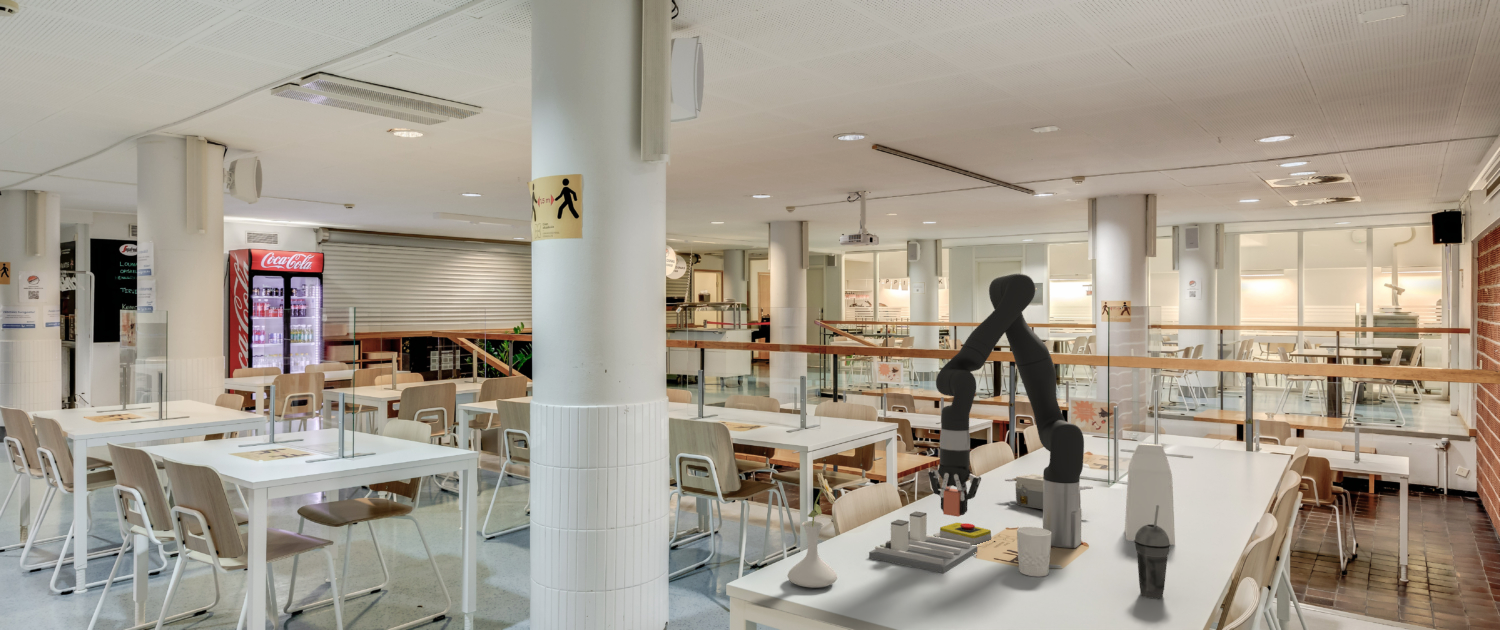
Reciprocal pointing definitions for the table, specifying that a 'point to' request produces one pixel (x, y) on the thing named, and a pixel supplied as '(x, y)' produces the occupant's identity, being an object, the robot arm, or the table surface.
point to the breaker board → (927, 553)
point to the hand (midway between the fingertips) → (953, 512)
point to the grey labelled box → (1033, 490)
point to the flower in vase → (814, 550)
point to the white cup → (1033, 551)
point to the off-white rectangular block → (918, 526)
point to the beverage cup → (1152, 558)
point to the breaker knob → (900, 535)
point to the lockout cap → (952, 502)
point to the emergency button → (964, 533)
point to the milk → (1149, 491)
